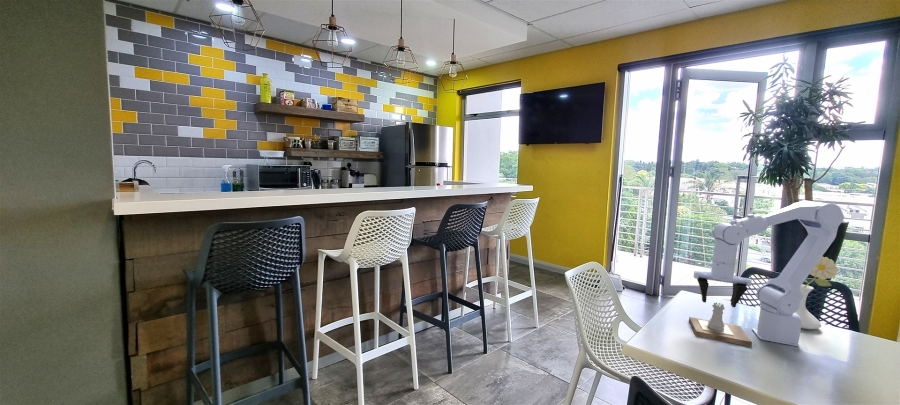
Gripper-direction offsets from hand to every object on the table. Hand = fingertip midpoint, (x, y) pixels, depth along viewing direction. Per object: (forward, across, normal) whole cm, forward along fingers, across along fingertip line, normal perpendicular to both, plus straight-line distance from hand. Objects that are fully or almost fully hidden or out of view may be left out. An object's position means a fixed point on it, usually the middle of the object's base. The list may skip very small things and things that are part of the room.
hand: (718, 303), depth 118 cm
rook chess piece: (+8, 0, -1) cm, 8 cm away
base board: (+10, +1, 0) cm, 10 cm away
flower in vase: (+10, +29, +22) cm, 37 cm away
